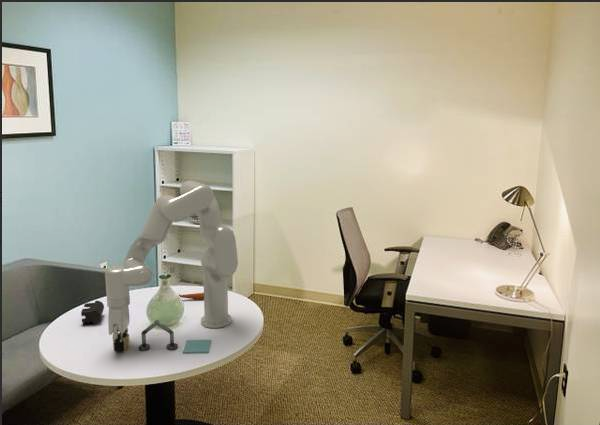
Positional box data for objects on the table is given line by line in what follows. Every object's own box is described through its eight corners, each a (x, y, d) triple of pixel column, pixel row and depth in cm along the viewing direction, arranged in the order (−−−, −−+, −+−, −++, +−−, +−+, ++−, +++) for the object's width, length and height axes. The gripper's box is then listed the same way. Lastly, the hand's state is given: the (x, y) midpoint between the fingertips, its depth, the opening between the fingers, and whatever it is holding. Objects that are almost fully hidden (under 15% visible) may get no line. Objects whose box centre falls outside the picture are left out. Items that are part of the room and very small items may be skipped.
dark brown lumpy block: (101, 325, 191) (100, 309, 189) (82, 326, 189) (80, 311, 188) (104, 314, 200) (103, 299, 199) (86, 316, 199) (85, 301, 197)
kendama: (204, 294, 214) (158, 294, 209) (203, 305, 216) (157, 305, 211) (204, 287, 219) (159, 286, 215) (203, 298, 222) (158, 298, 217)
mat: (186, 341, 179) (186, 340, 179) (210, 341, 180) (210, 339, 179) (182, 353, 170) (182, 352, 170) (208, 353, 171) (208, 351, 171)
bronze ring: (116, 345, 175) (115, 332, 174) (131, 344, 176) (130, 332, 174) (112, 352, 170) (111, 339, 169) (127, 352, 170) (126, 339, 169)
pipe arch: (140, 345, 175) (138, 318, 173) (178, 344, 176) (177, 317, 174) (137, 351, 171) (135, 323, 169) (176, 350, 172) (175, 322, 170)
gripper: (115, 291, 177) (118, 336, 181) (99, 310, 160) (103, 359, 164) (135, 291, 177) (138, 336, 181) (122, 310, 161) (125, 359, 165)
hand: (121, 346), depth 173 cm, fingers closed on bronze ring, 5 cm apart
